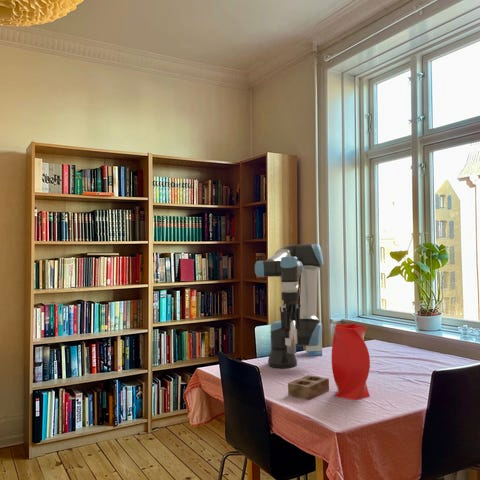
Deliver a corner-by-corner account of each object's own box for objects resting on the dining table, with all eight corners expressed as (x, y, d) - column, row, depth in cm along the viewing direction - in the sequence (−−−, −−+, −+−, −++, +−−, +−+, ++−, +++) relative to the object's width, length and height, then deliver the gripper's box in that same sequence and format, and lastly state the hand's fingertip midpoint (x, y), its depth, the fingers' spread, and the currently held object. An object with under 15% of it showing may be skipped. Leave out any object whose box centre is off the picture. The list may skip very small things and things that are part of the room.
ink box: (322, 355, 263) (321, 332, 263) (307, 355, 263) (307, 332, 263) (320, 352, 271) (319, 329, 272) (305, 352, 271) (305, 329, 272)
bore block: (288, 395, 190) (287, 383, 190) (308, 386, 202) (308, 374, 202) (309, 399, 183) (308, 387, 183) (329, 390, 196) (328, 378, 196)
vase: (345, 401, 180) (343, 329, 181) (324, 392, 193) (323, 324, 194) (376, 396, 186) (374, 326, 187) (354, 387, 199) (352, 322, 200)
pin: (285, 352, 203) (284, 321, 204) (290, 351, 206) (289, 319, 207) (292, 354, 201) (291, 321, 201) (297, 352, 204) (296, 320, 204)
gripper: (286, 293, 195) (287, 348, 195) (307, 290, 208) (308, 342, 208) (271, 292, 200) (273, 346, 200) (293, 289, 213) (294, 340, 213)
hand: (291, 344), depth 204 cm, fingers closed on pin, 4 cm apart
